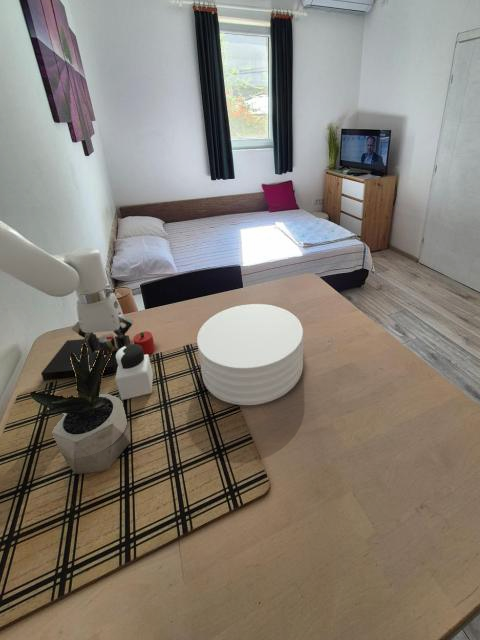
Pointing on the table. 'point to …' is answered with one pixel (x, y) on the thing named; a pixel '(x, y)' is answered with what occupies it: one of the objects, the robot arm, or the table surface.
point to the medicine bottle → (133, 372)
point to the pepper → (145, 342)
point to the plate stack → (251, 353)
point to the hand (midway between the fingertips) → (109, 347)
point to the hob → (62, 363)
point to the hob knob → (108, 343)
